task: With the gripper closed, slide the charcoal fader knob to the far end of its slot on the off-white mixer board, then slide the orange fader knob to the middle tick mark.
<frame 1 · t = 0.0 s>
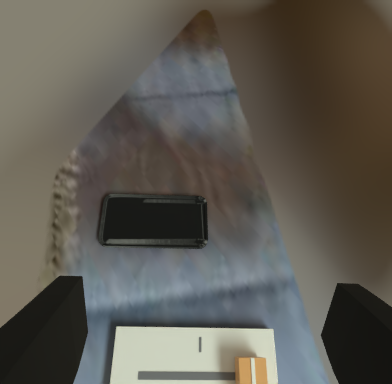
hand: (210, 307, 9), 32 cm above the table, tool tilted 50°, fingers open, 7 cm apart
fader orange: (251, 377, 33), point 3 cm above the table, slide at 0.0 cm
phone: (155, 222, 44), on the table
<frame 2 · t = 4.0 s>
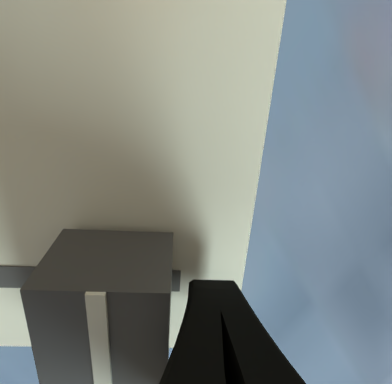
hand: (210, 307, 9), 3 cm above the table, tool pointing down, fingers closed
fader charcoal: (112, 320, 8), point 3 cm above the table, slide at 0.3 cm, touching gripper
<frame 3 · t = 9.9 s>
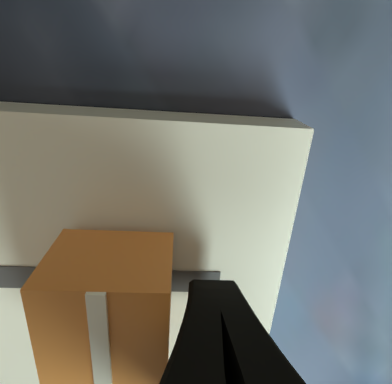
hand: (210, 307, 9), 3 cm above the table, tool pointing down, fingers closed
fader orange: (112, 320, 8), point 3 cm above the table, slide at 1.5 cm, touching gripper
mixer board: (20, 331, 12), on the table
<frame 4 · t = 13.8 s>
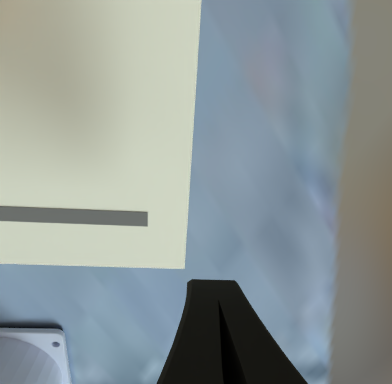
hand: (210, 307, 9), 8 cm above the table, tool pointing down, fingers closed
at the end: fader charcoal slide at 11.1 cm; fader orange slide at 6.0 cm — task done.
